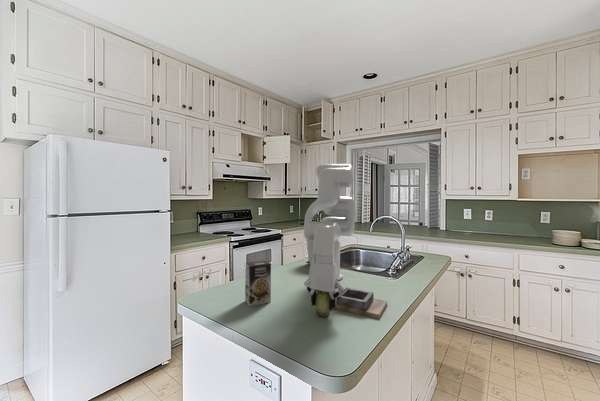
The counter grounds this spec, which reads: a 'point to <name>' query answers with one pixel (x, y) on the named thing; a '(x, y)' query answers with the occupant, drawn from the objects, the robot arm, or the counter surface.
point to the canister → (310, 249)
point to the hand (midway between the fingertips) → (323, 306)
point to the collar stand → (360, 303)
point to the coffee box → (258, 283)
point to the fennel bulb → (322, 303)
